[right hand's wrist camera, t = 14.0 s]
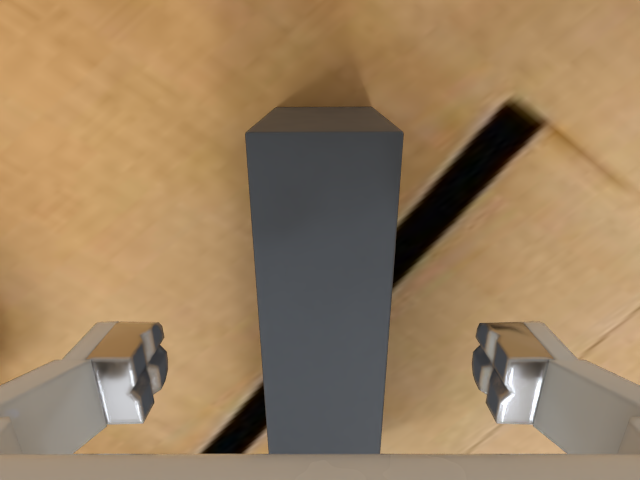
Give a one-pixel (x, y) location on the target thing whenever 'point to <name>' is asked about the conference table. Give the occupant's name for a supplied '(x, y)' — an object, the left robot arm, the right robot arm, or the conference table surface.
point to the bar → (324, 272)
